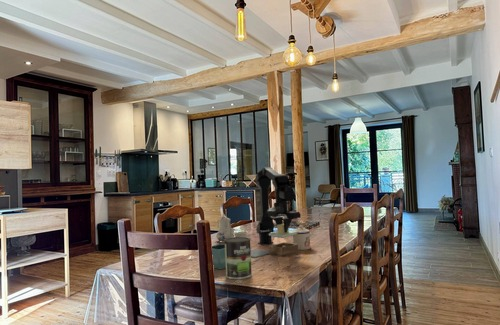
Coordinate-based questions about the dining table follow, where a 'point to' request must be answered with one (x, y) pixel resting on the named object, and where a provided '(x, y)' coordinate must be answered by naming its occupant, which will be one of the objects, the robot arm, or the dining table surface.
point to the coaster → (258, 253)
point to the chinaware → (227, 230)
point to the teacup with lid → (302, 238)
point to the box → (283, 249)
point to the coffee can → (238, 258)
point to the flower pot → (219, 256)
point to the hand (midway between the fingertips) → (283, 232)
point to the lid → (282, 232)
